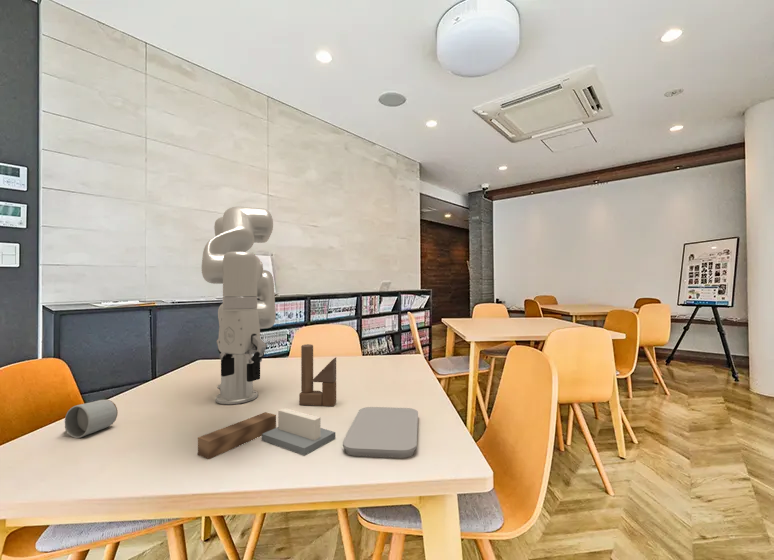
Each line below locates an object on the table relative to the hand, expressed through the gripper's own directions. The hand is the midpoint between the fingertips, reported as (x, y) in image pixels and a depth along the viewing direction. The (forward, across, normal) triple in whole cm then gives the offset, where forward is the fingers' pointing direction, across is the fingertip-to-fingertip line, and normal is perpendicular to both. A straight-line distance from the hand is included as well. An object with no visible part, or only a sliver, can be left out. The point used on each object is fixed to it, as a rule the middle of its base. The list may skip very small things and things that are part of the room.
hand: (240, 377), depth 84 cm
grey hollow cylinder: (+15, -38, -17) cm, 44 cm away
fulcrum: (+15, +10, +8) cm, 20 cm away
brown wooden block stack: (+15, -4, +29) cm, 33 cm away
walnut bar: (+15, 0, 0) cm, 15 cm away
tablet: (+16, +26, +22) cm, 37 cm away
